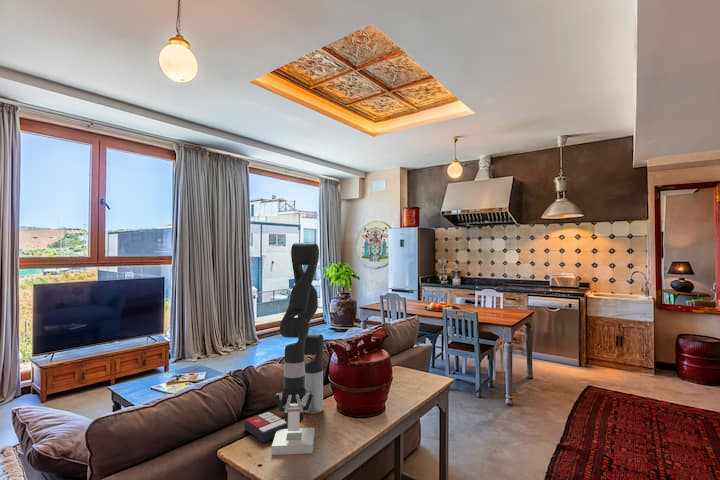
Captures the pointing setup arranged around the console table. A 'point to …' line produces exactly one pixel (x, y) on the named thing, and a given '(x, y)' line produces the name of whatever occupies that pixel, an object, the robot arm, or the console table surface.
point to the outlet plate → (293, 441)
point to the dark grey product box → (264, 426)
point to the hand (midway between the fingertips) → (294, 421)
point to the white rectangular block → (293, 417)
